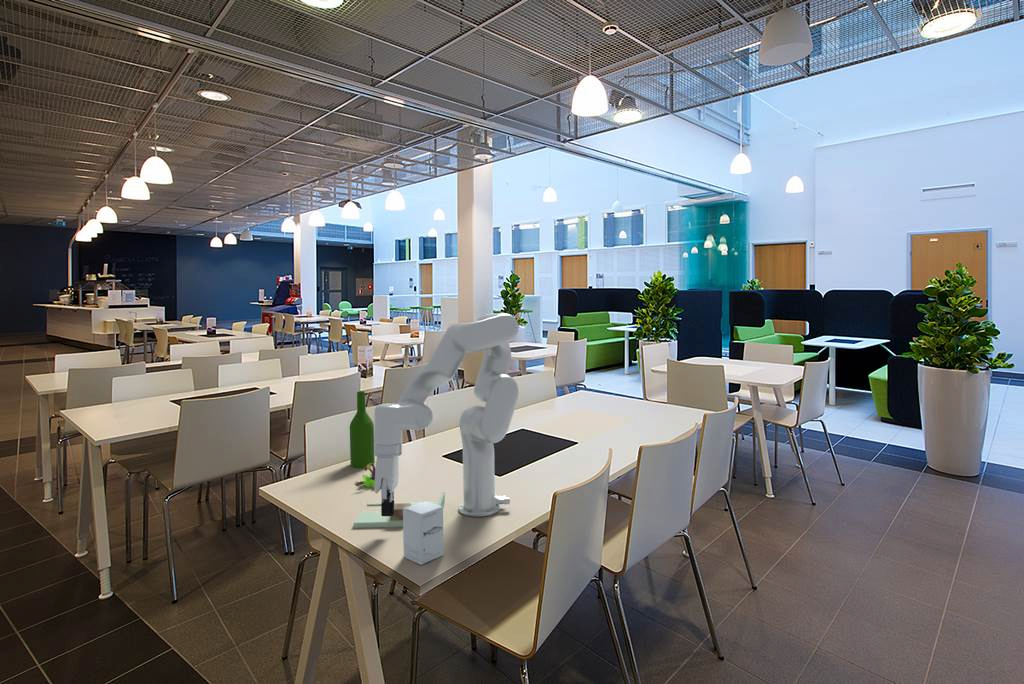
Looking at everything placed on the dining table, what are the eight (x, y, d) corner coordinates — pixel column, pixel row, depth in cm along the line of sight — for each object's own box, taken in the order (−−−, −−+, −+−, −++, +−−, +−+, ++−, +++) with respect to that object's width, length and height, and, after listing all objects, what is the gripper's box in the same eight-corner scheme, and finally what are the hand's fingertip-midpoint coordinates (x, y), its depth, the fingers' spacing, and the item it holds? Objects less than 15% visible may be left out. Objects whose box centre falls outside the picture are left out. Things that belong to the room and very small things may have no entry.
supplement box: (421, 566, 127) (420, 514, 127) (402, 557, 132) (401, 507, 132) (444, 555, 133) (443, 506, 132) (426, 547, 138) (425, 499, 137)
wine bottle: (377, 472, 208) (375, 390, 207) (371, 478, 199) (369, 393, 198) (354, 472, 208) (352, 390, 207) (348, 479, 199) (345, 393, 198)
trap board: (444, 509, 166) (444, 492, 166) (439, 529, 150) (439, 510, 150) (367, 511, 165) (367, 493, 165) (354, 531, 149) (353, 512, 149)
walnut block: (411, 513, 156) (410, 503, 156) (408, 519, 151) (407, 509, 151) (394, 513, 156) (393, 503, 156) (390, 520, 151) (390, 509, 151)
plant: (331, 498, 179) (330, 465, 179) (372, 482, 196) (371, 452, 196) (375, 507, 170) (375, 472, 169) (414, 490, 187) (414, 458, 186)
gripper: (380, 443, 153) (380, 506, 153) (367, 455, 138) (367, 525, 138) (406, 443, 153) (406, 506, 153) (396, 455, 138) (396, 525, 138)
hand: (387, 515), depth 146 cm, fingers closed
